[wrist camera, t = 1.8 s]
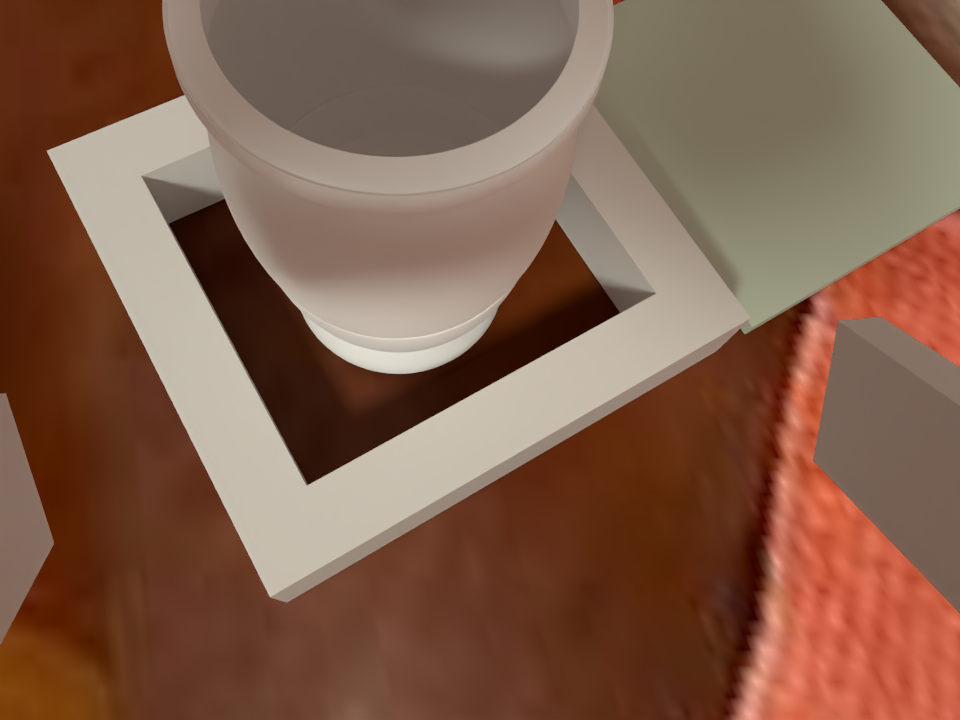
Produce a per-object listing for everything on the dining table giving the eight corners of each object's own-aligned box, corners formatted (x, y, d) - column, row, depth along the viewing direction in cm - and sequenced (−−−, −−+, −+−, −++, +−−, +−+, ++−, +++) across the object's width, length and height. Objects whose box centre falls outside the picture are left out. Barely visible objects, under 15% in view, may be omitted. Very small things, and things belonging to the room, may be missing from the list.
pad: (536, 49, 37) (539, 37, 36) (801, -67, 40) (809, -81, 40) (744, 334, 33) (752, 327, 32) (1016, 175, 36) (1029, 165, 36)
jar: (301, 145, 34) (224, -210, 20) (541, 185, 34) (633, -136, 20) (240, 380, 30) (94, 149, 16) (510, 422, 31) (596, 233, 16)
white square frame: (83, 201, 32) (46, 151, 29) (486, 30, 37) (493, -31, 33) (286, 602, 28) (269, 597, 24) (716, 351, 32) (750, 318, 29)
